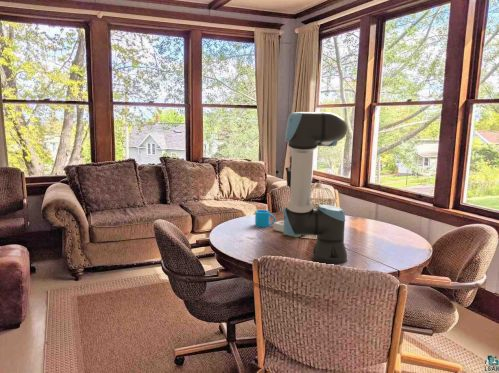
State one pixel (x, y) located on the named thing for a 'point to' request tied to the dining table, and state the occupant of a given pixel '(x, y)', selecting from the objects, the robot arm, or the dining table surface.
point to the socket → (290, 234)
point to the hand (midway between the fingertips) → (296, 200)
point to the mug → (263, 218)
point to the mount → (279, 226)
